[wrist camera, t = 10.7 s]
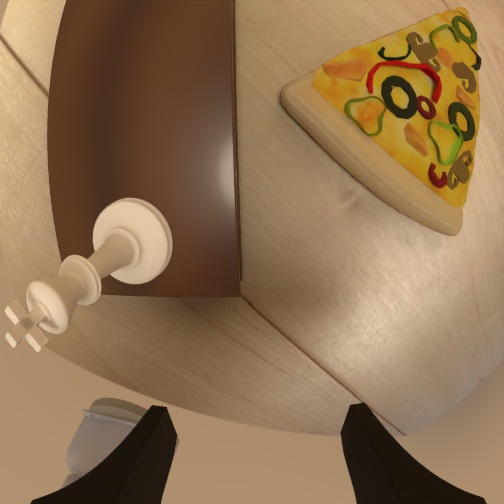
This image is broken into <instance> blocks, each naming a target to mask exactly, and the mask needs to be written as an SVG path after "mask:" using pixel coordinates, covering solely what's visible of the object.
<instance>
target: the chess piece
mask: <svg viewBox="0 0 504 504" xmlns="http://www.w3.org/2000/svg"><path fill="white" fill-rule="evenodd" d="M93 246H94V250H95V252H94V253H93V254H92V255H91V256H90V257H89V258H88V259H86V258H84V257H82V256H79V255H71V256H68V257H67V258H66V259H65V260H64V261H63V263H62V264H61V266H60V269H59V276H57V277H54V278H43V279H38V280H35V281H33V282H32V283H30V285H29V286H28V288H27V292H26V301H27V305H28V308H29V311H30V313H28V314H27V313H26V312H25V311H24V309H23V308H22V307H21V305H20V304H19V302H18V301H17V300H16V299H15V300H14V301H12V302H11V303H10V304H8V305H7V308H6V310H5V312H6V314H7V315H8V317H9V318H10V319H11V320H12V322H13V323H14V324H15V326H14V327H12V328H11V329H10V330H9V331H8V332H7V334H6V336H5V338H6V339H7V340H8V342H9V343H10V344H11V345H12V347H13V348H15V347H16V346H17V345H18V344H19V343H20V342H21V341H22V340H23V339H24V338H26V340H27V341H28V342H29V343H30V344H31V346H32V347H33V348H34V349H35V350H36V351H37V353H38V352H39V351H40V350H41V349H42V348H43V347H44V346H45V345H46V343H47V342H48V341H49V340H48V339H47V338H46V337H45V335H44V334H43V333H42V332H41V331H40V329H39V328H38V327H37V326H38V325H39V326H41V327H42V328H43V329H44V330H46V331H48V332H50V333H53V334H60V333H63V332H64V331H65V330H66V329H67V327H68V326H69V323H70V321H71V319H72V315H73V312H74V309H75V307H76V306H77V304H80V305H89V304H92V303H94V302H96V301H97V300H98V299H99V297H100V294H101V289H102V286H101V279H102V278H104V277H106V276H108V275H109V274H110V275H111V276H113V277H114V278H116V279H117V280H119V281H122V282H124V283H128V284H142V283H146V282H148V281H150V280H152V279H154V278H155V277H157V276H158V275H159V274H161V273H162V272H163V271H164V269H165V268H166V267H167V265H168V263H169V261H170V258H171V255H172V248H173V241H172V234H171V231H170V228H169V225H168V223H167V221H166V219H165V218H164V216H163V215H162V214H161V213H160V211H159V210H158V209H157V208H155V207H154V206H153V205H151V204H150V203H148V202H146V201H144V200H141V199H137V198H124V199H120V200H117V201H115V202H113V203H112V204H111V205H109V206H108V207H106V208H105V209H104V210H103V211H102V212H101V214H100V215H99V217H98V218H97V220H96V223H95V226H94V230H93Z"/></svg>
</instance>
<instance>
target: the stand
mask: <svg viewBox="0 0 504 504" xmlns="http://www.w3.org/2000/svg"><path fill="white" fill-rule="evenodd" d="M47 150H48V172H49V185H50V195H51V204H52V211H53V218H54V225H55V231H56V237H57V242H58V247H59V252H60V257H61V261H62V263H63V261H64V260H65V259H66V258H67V257H68V256H71V255H79V256H82V257H84V258H86V259H88V258H89V257H90V256H91V255H92V254H93V253H94V252H95V250H94V246H93V230H94V226H95V223H96V220H97V218H98V217H99V215H100V214H101V212H102V211H103V210H104V209H105V208H106V207H108V206H109V205H111V204H112V203H113V202H115V201H117V200H120V199H124V198H137V199H141V200H144V201H146V202H148V203H150V204H151V205H153V206H154V207H155V208H157V209H158V210H159V211H160V213H161V214H162V215H163V216H164V218H165V219H166V221H167V223H168V225H169V228H170V231H171V234H172V241H173V248H172V255H171V258H170V261H169V263H168V265H167V267H166V268H165V269H164V271H163V272H162V273H161V274H159V275H158V276H157V277H155V278H154V279H152V280H150V281H148V282H146V283H142V284H128V283H124V282H122V281H119V280H117V279H116V278H114V277H113V276H111V275H110V274H109V275H108V276H106V277H104V278H102V279H101V286H102V289H101V294H104V295H125V296H154V297H240V293H241V284H240V281H242V277H243V274H242V250H241V224H240V196H239V166H238V132H237V93H236V43H235V0H66V3H65V7H64V10H63V14H62V18H61V22H60V26H59V30H58V35H57V40H56V45H55V51H54V56H53V63H52V70H51V78H50V88H49V100H48V121H47Z"/></svg>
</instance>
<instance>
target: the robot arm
mask: <svg viewBox="0 0 504 504" xmlns="http://www.w3.org/2000/svg"><path fill="white" fill-rule="evenodd" d="M83 414H84V415H85V417H84V419H83V421H82V423H81V424H80V426H79V428H78V430H77V432H76V434H75V436H74V437H73V439H72V441H71V443H70V445H69V447H68V450H67V457H66V460H67V466H68V468H69V470H70V472H71V473H72V474H69V475H67V477H66V479H65V481H64V483H63V485H62V487H61V489H60V490H58V491H56V492H53V493H51V494H49V495H46V496H43V497H40V498H38V499H34V500H32V502H31V504H161V500H162V495H163V492H164V488H165V485H166V482H167V478H168V474H169V471H170V468H171V464H172V461H173V457H174V452H175V446H176V438H177V433H176V431H175V428H174V426H173V423H172V420H171V418H170V415H169V413H168V410H167V407H162V406H155V405H152V406H151V407H150V408H149V409H148V411H147V412H146V413H145V415H144V416H143V417H142V418H141V420H140V421H139V422H135V421H130V420H125V419H120V418H116V417H112V416H108V415H103V414H100V413H96V412H92V411H89V410H84V411H83ZM341 439H342V446H343V452H344V456H345V460H346V464H347V467H348V471H349V474H350V478H351V481H352V485H353V489H354V492H355V497H356V502H357V504H487V503H486V501H485V499H484V498H483V497H480V496H477V495H474V494H471V493H468V492H466V491H464V490H461V489H459V488H457V487H455V486H453V485H451V484H450V483H448V482H446V481H445V480H443V479H441V478H439V477H438V476H436V475H435V474H433V473H432V472H431V471H429V470H428V469H426V468H425V467H424V466H423V465H421V464H420V463H419V462H418V461H417V460H415V459H414V458H413V457H412V456H411V455H410V454H409V453H408V452H407V451H406V450H405V449H404V448H403V447H402V446H401V445H400V444H399V443H398V442H397V441H396V440H395V439H394V438H393V436H392V435H391V434H390V433H389V432H388V431H387V430H386V428H385V427H384V426H383V425H382V424H381V422H380V421H379V420H378V419H377V417H376V416H375V415H374V414H373V412H372V411H371V410H370V408H369V407H368V406H367V405H366V404H365V403H359V404H352V405H350V407H349V410H348V413H347V416H346V419H345V422H344V424H343V427H342V430H341Z"/></svg>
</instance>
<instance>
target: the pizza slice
mask: <svg viewBox="0 0 504 504" xmlns="http://www.w3.org/2000/svg"><path fill="white" fill-rule="evenodd" d="M322 65H323V66H322V67H320V68H319V69H317V70H315V71H313V72H311V73H310V74H308V75H306V76H303V77H301V78H298V79H296V80H294V81H292V82H290V83H288V84H287V85H285V87H284V88H283V89H282V90H281V92H280V99H281V104H282V105H283V106H284V108H285V109H286V110H287V112H288V113H289V114H290V115H291V116H292V117H293V118H294V119H295V120H296V121H297V122H298V123H299V124H300V125H301V126H302V127H303V128H304V129H305V130H306V131H307V132H308V133H309V134H310V135H311V136H312V137H313V138H314V139H315V140H316V141H317V142H318V143H319V144H320V145H321V146H322V147H323V148H324V149H325V150H326V151H327V152H328V153H329V154H330V155H331V156H332V157H333V158H334V159H335V160H336V161H337V162H338V163H339V164H340V165H341V166H342V167H344V168H345V169H346V170H347V171H348V172H349V173H350V174H352V175H353V176H354V177H355V178H356V179H357V180H358V181H360V182H361V183H362V184H363V185H365V186H366V187H367V188H368V189H370V190H371V191H372V192H373V193H374V194H376V195H377V196H378V197H379V198H381V199H382V200H384V201H385V202H387V203H388V204H390V205H391V206H392V207H394V208H395V209H397V210H398V211H400V212H401V213H403V214H405V215H406V216H408V217H410V218H412V219H413V220H415V221H417V222H418V223H420V224H422V225H424V226H426V227H428V228H430V229H432V230H434V231H437V232H439V233H441V234H444V235H447V236H455V235H457V234H458V233H459V232H460V230H461V227H462V221H463V205H464V204H465V202H466V197H467V190H468V186H469V182H470V179H471V175H472V171H473V166H474V154H475V144H476V136H477V132H478V128H479V120H480V96H479V86H478V70H479V69H480V66H481V58H480V57H479V55H478V54H477V33H476V30H475V28H474V26H473V24H472V22H471V20H470V18H469V15H468V12H467V9H466V8H463V7H459V8H457V9H454V10H449V11H446V12H443V13H440V14H435V15H433V16H431V17H429V18H428V19H426V20H424V21H421V22H419V23H416V24H413V25H411V26H408V27H405V28H403V29H400V30H398V31H395V32H393V33H390V34H388V35H385V36H383V37H380V38H378V39H376V40H374V41H372V42H370V43H367V44H365V45H361V46H358V47H355V48H352V49H350V50H348V51H346V52H345V53H343V54H341V55H339V56H337V57H335V58H333V59H332V60H330V61H329V62H327V63H325V64H322Z"/></svg>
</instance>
